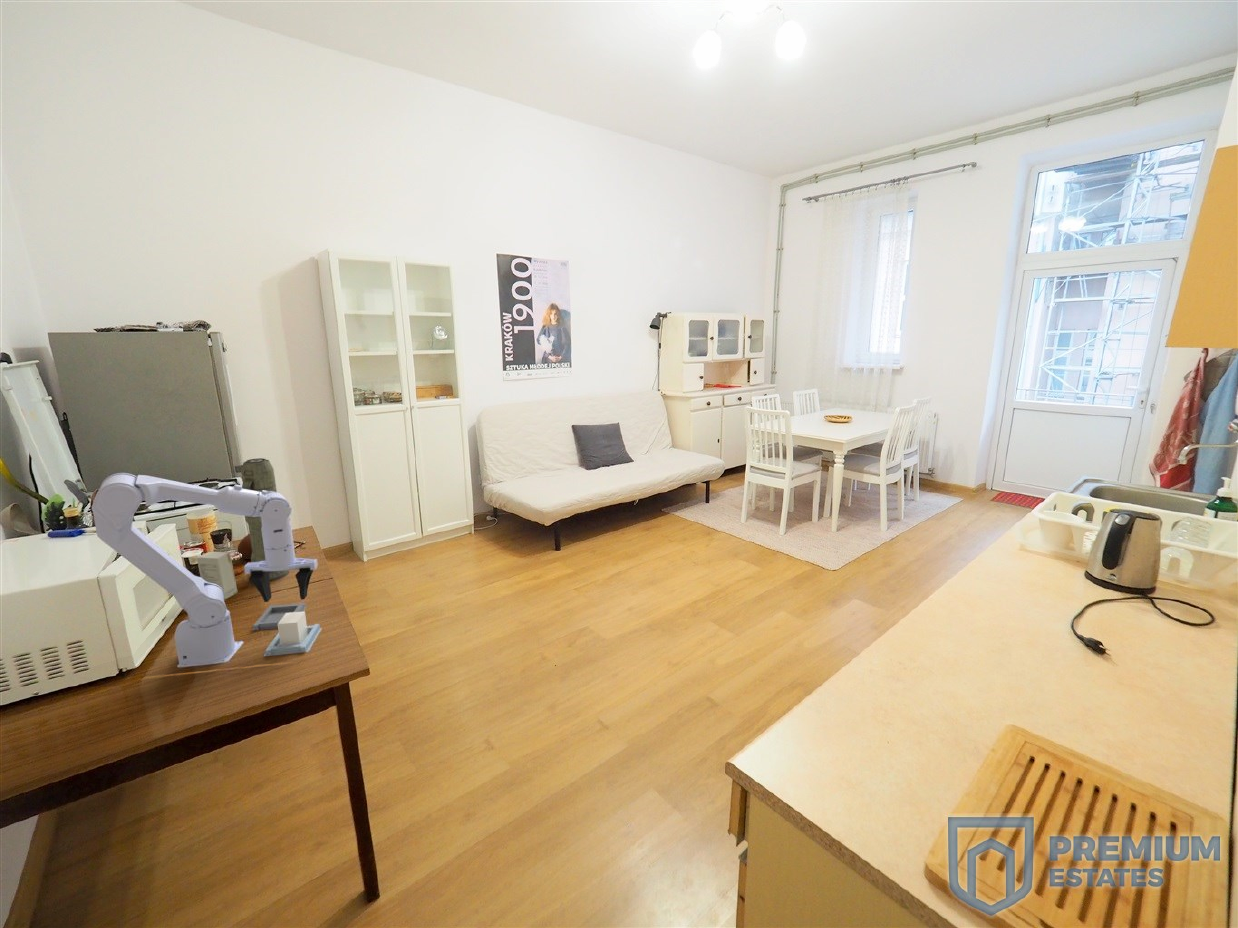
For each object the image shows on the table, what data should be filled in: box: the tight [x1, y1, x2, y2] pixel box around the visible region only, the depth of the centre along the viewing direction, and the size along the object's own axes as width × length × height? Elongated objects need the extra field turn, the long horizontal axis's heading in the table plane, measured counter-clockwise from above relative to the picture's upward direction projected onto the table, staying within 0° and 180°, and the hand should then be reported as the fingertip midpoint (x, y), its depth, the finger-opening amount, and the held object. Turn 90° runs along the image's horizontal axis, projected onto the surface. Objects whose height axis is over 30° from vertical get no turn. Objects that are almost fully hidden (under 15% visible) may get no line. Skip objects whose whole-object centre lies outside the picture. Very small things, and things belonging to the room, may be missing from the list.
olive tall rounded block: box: [240, 457, 290, 581], centre depth 150 cm, size 9×12×35 cm
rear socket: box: [251, 602, 308, 632], centre depth 130 cm, size 9×10×2 cm
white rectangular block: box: [277, 610, 308, 646], centre depth 120 cm, size 4×5×6 cm
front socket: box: [263, 623, 323, 657], centre depth 120 cm, size 9×10×2 cm
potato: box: [236, 533, 252, 560], centre depth 166 cm, size 8×12×8 cm, turn 0°
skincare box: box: [196, 551, 238, 600], centre depth 139 cm, size 6×4×12 cm
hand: (286, 598), depth 122 cm, fingers open, 7 cm apart
